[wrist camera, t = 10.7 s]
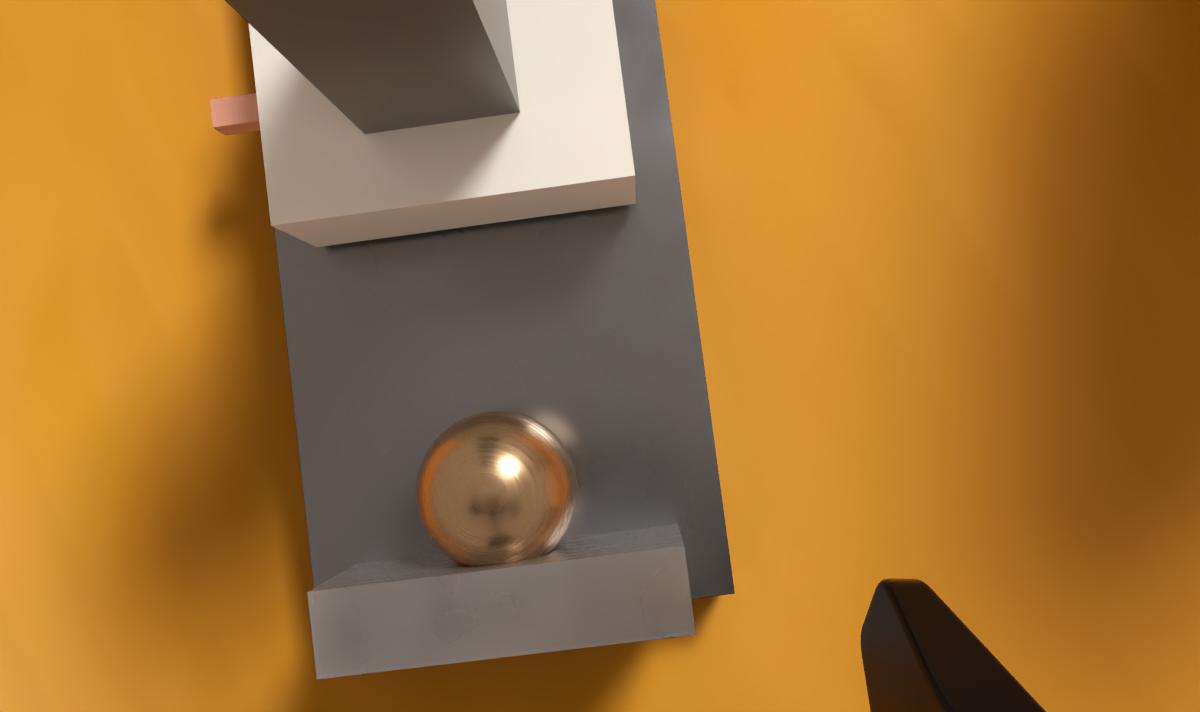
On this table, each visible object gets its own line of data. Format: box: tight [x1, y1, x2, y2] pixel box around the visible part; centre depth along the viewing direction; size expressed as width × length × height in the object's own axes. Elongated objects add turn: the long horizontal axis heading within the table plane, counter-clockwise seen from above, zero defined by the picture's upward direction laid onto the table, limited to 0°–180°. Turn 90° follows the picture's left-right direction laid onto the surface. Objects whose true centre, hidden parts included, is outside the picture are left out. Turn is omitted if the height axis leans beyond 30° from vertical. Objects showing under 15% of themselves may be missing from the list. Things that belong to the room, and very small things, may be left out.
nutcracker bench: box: [274, 0, 735, 679], centre depth 20 cm, size 22×9×5 cm, turn 7°
